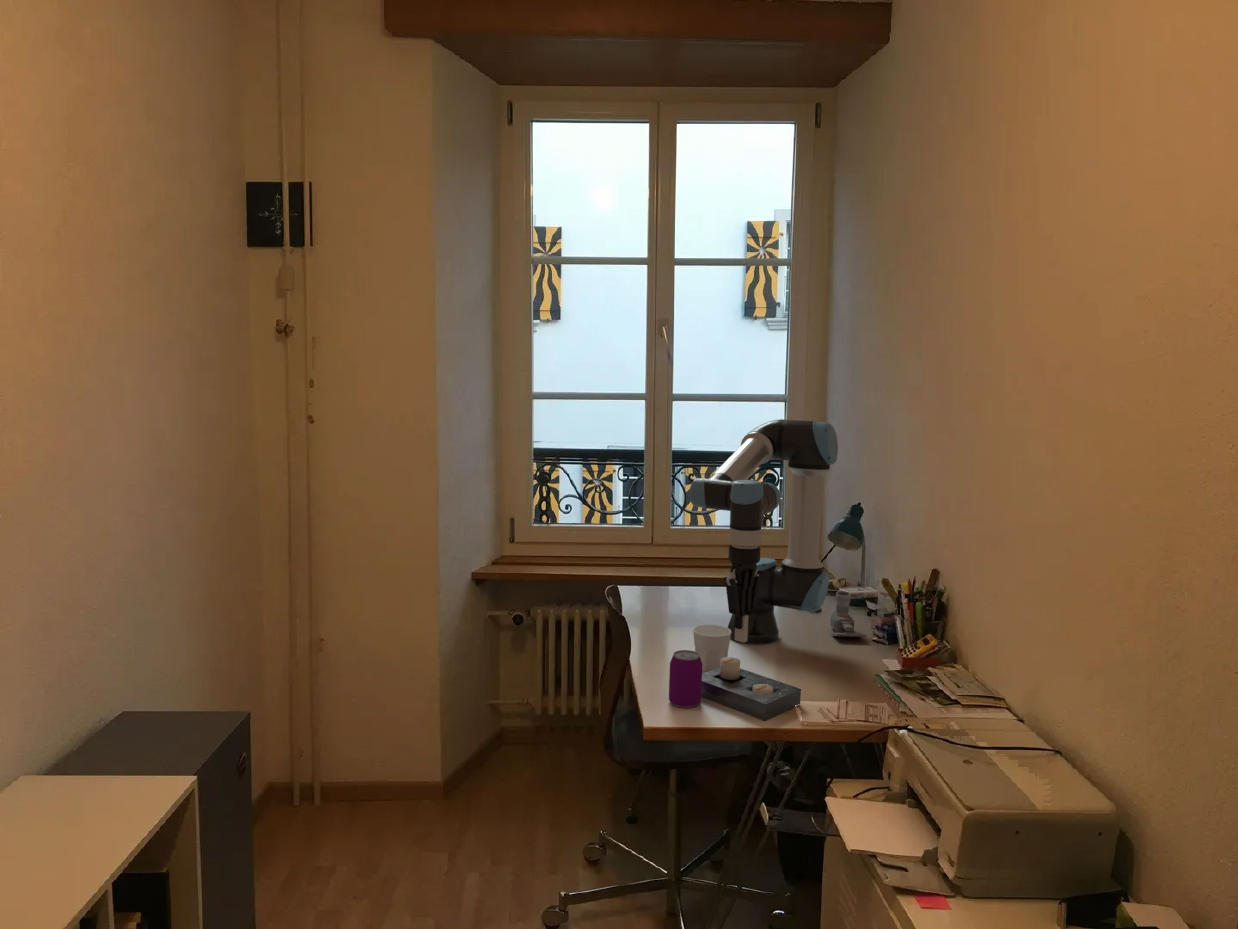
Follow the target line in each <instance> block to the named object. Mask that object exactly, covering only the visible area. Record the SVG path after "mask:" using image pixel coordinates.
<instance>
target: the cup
mask: <svg viewBox="0 0 1238 929" xmlns="http://www.w3.org/2000/svg"><path fill="white" fill-rule="evenodd" d="M692 631H693V632H692V633H693V642H694V644H693V645H694V651H695V652H697V653H699V655H700V659H701V662H702V669H703V670H702V671H704V670H705V671H704V672H708V671H711V670H714V669H716V668H719V667H720V660H721V658H724V657H729V656H728V655H729V648H730V642H731V638H730V637H731V630H730V629H728V628H727V626H724V625H723V626H722V625H718V624H700V625H699V624H698V625H697V626H694V627H693V629H692Z"/></svg>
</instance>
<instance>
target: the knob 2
mask: <svg viewBox="0 0 1238 929" xmlns="http://www.w3.org/2000/svg"><path fill="white" fill-rule="evenodd" d="M752 691H753V692H756V693H759V694H761V695H764V696H767V695H769V694H771V693H773V687H772V686H770V685H767V684H755V685H753V690H752Z"/></svg>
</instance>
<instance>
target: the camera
mask: <svg viewBox="0 0 1238 929" xmlns="http://www.w3.org/2000/svg"><path fill="white" fill-rule="evenodd" d="M851 594H852V593H851V592H849V591H841V590H840V591H836V594H835V601H836V607H835V608H836V609H835V610H834V611H833V612H832V613H831V616H830V626H831V628H832V630H834V632H833V631H832V632H831V633H830V635H832V636H834V637H835V636H836V637H860V638H861V637H862V638H867V634H864V633H860V632H854V631H855V620H854V619H853V618H852V617H851V615H850V614H849V612H850V611H849V610H850V608H849V607H850V603H851Z"/></svg>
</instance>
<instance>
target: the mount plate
mask: <svg viewBox="0 0 1238 929" xmlns="http://www.w3.org/2000/svg"><path fill="white" fill-rule="evenodd" d="M755 684H767V685H770V686H772V687H773V693H771V694H769V695H767V696H764V695H761V694H759V693H756V692H753V691H752V690H753V685H755ZM801 694H802V689H801V688H799V687H796V686H793V685H790V684H787V683H785V682H781V681H779V680H776V679H773V678H770V677H767V676H764V675H761V674H759V673H755V672H752V671H749V670H746V669H744V668H741V667H740V677H739V678H738V679H735V680H728V679H724V678H721V677H720V667H719V668H716V669H714V670H711V671H704V672H702V688H701V698H704V699H707V700H709V701H712V702H713V703H717V704H720V705H723V706H725V707H728V708H730V709H732V710H735V711H737V712H740V713H743V714H746V715H748V716H751V717H753V718H756V719H758V720H761V721H763V722H766V721H768V720H770V719H771V720H772V719H773V718H775V717H777V716H780V715H782V714H784V713H786V712H788V711H790V710H792V709H795V708H796V707H795V705H798V704H800V705H801V697H802V696H801ZM794 707H795V708H794Z"/></svg>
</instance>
